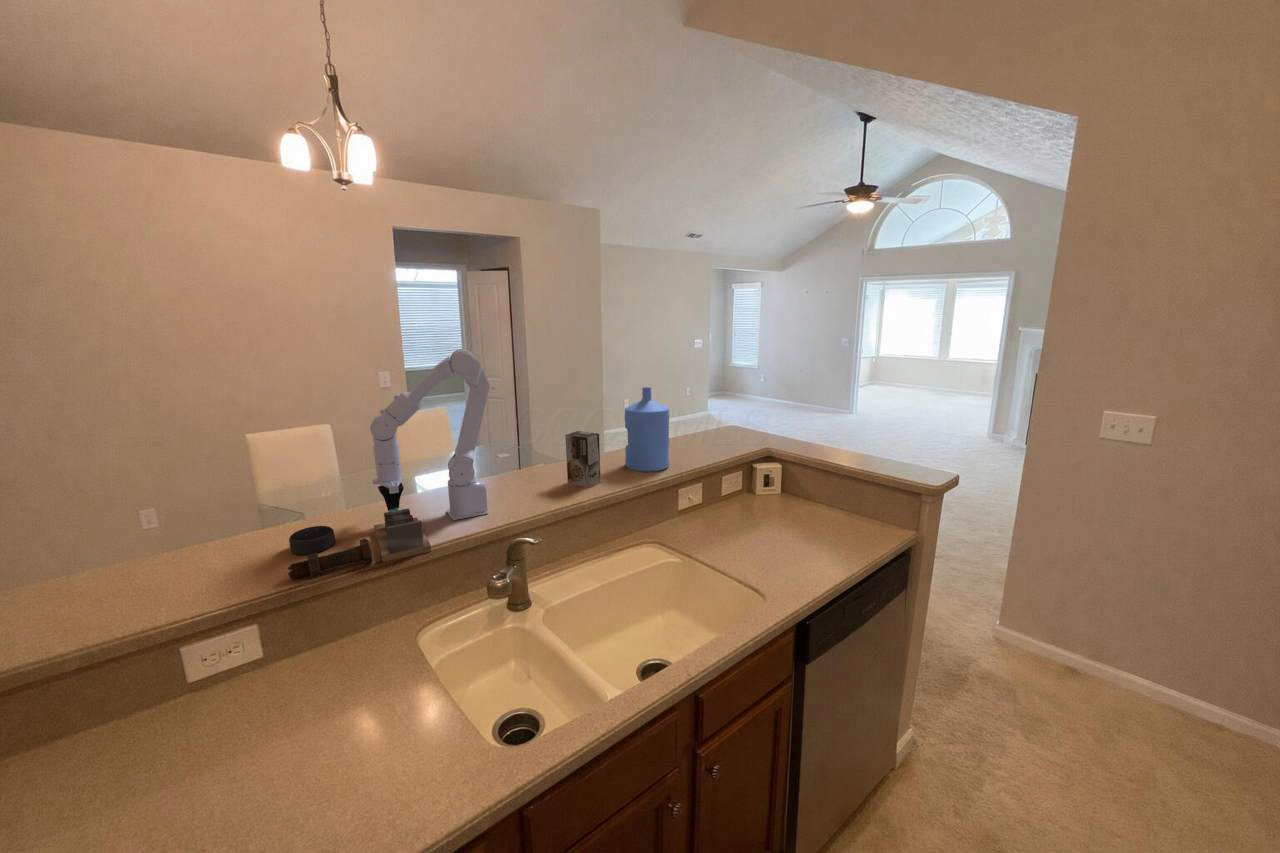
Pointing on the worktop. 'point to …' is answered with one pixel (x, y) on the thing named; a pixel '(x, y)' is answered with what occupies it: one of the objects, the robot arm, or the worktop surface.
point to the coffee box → (583, 458)
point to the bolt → (331, 561)
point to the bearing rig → (401, 536)
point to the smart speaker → (312, 540)
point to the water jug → (647, 435)
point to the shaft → (397, 516)
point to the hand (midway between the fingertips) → (393, 512)
